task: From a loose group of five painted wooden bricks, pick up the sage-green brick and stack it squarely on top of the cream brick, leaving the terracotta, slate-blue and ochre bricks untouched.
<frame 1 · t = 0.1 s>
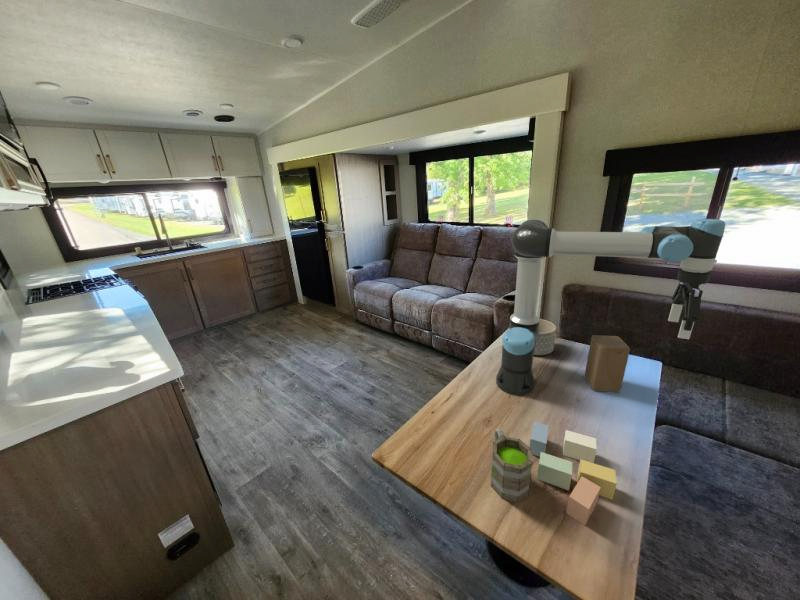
hand: (677, 329, 104), 28 cm above the table, fingers open, 13 cm apart
ochre brick: (594, 486, 83), on the table
terracotta brick: (581, 508, 78), on the table
wooden block: (601, 385, 123), on the table
cream brick: (577, 454, 93), on the table
sage brick: (553, 478, 86), on the table
mug: (505, 476, 88), on the table
slate brick: (538, 446, 97), on the table
planter: (534, 348, 151), on the table
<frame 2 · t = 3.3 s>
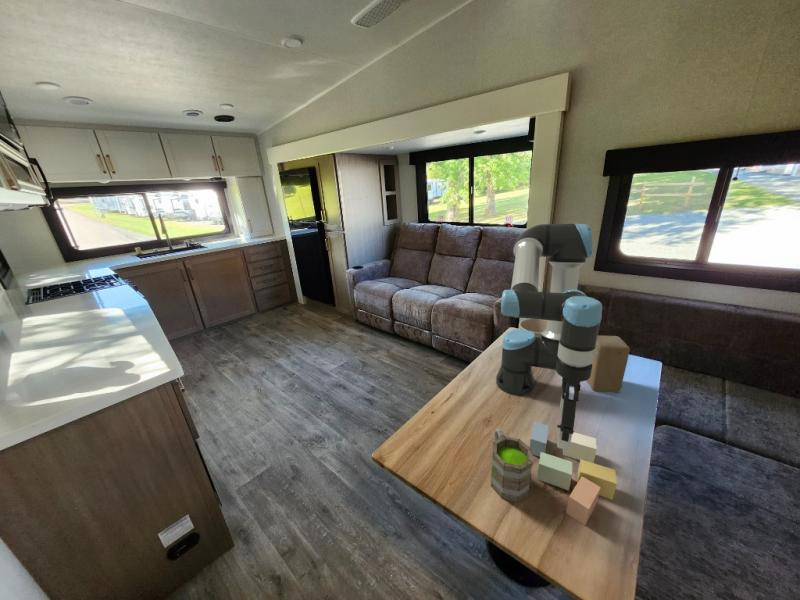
hand: (563, 429, 81), 17 cm above the table, fingers open, 13 cm apart
nothing on the table moved.
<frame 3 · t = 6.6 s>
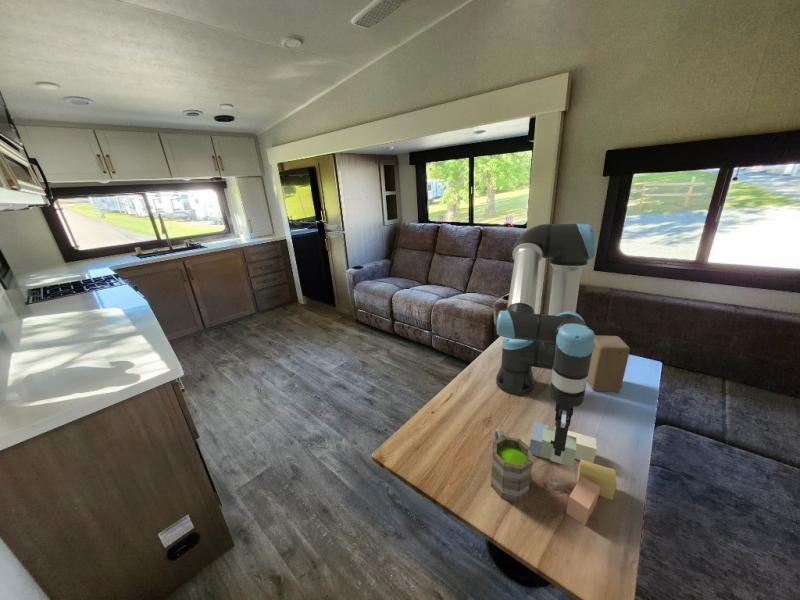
hand: (556, 453, 84), 9 cm above the table, fingers closed on sage brick, 4 cm apart
sage brick: (556, 454, 84), point 8 cm above the table, touching gripper
everything else where it was.
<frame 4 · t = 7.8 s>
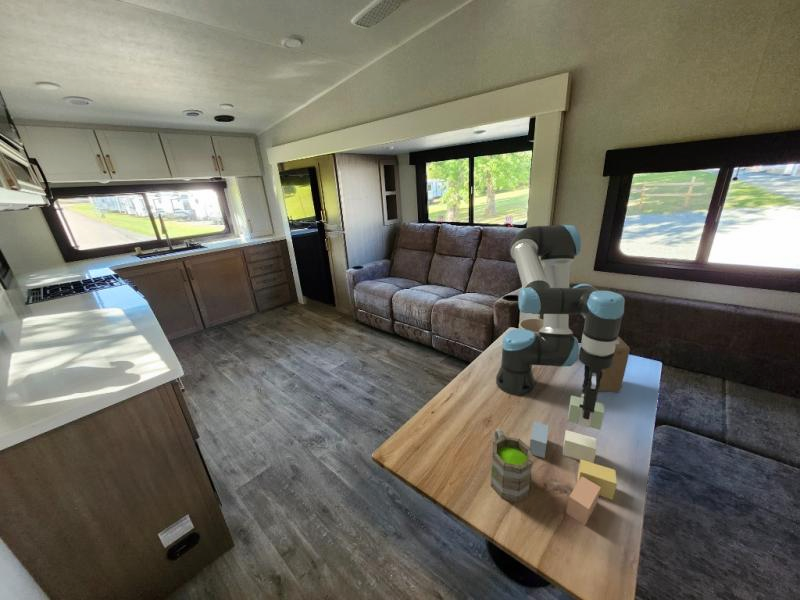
hand: (583, 419, 88), 13 cm above the table, fingers closed on sage brick, 4 cm apart
sage brick: (583, 420, 88), point 13 cm above the table, touching gripper
everything else where it was.
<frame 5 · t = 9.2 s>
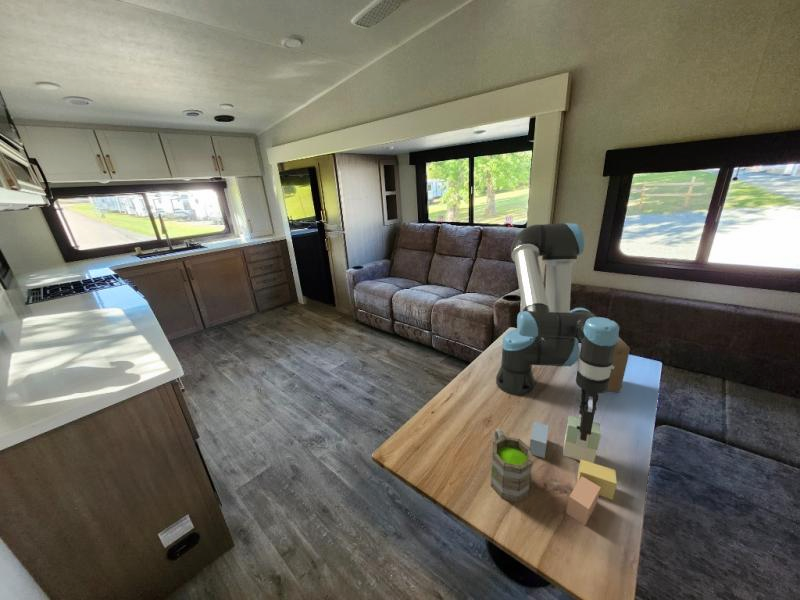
hand: (581, 439, 91), 6 cm above the table, fingers closed on sage brick, 4 cm apart
cream brick: (578, 454, 93), on the table, touching gripper, sage brick
sage brick: (581, 440, 91), point 6 cm above the table, touching cream brick, gripper
everything else where it was.
when the fingers open (6 cm above the table, at t = 9.5 s): sage brick stays where it is, resting on cream brick.
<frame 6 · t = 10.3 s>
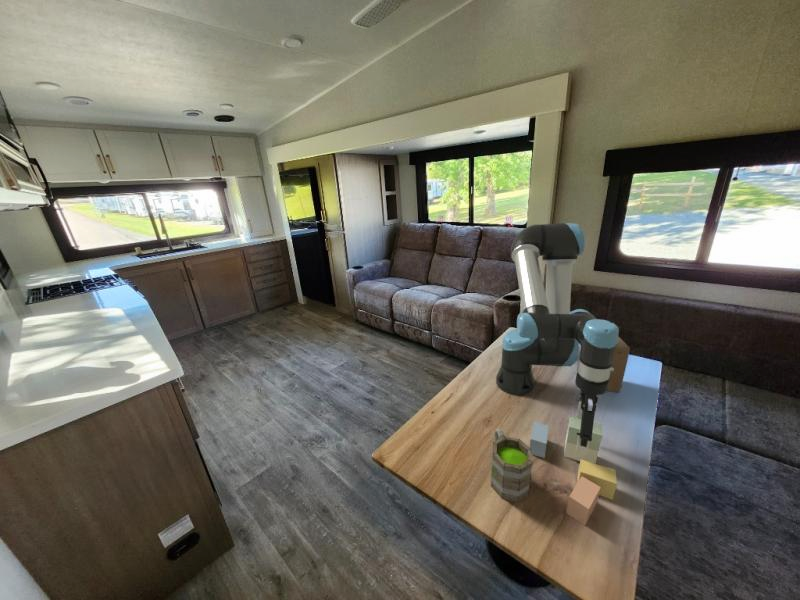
hand: (581, 435, 91), 7 cm above the table, fingers open, 13 cm apart
cream brick: (579, 455, 93), on the table, touching sage brick
sage brick: (582, 441, 90), point 6 cm above the table, touching cream brick
everything else where it was.
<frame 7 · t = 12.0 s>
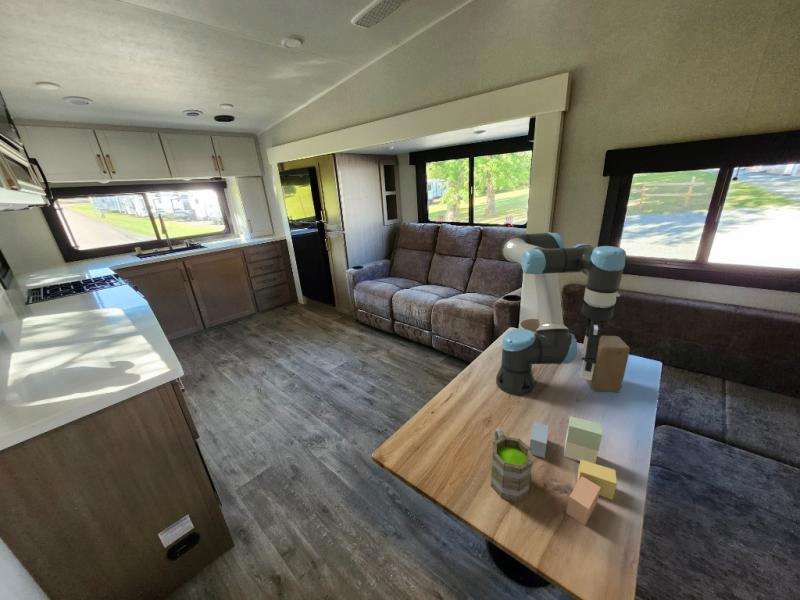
hand: (586, 365, 93), 25 cm above the table, fingers open, 13 cm apart
nothing on the table moved.
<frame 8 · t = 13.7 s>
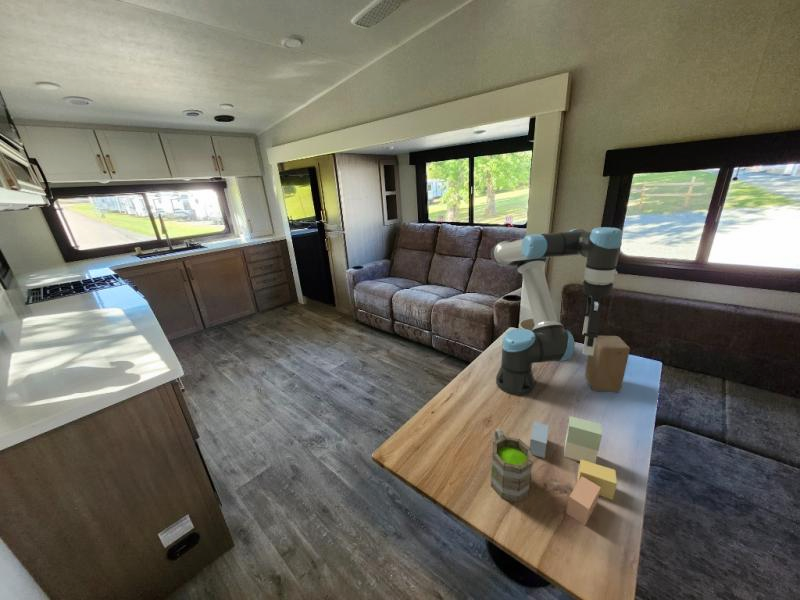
hand: (587, 344, 98), 29 cm above the table, fingers open, 13 cm apart
nothing on the table moved.
at the end: sage brick 0.1 cm off-centre on the cream brick, point 6.0 cm above the cream brick's base; sage brick tilted 0°; ochre brick moved 0.1 cm from its start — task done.
